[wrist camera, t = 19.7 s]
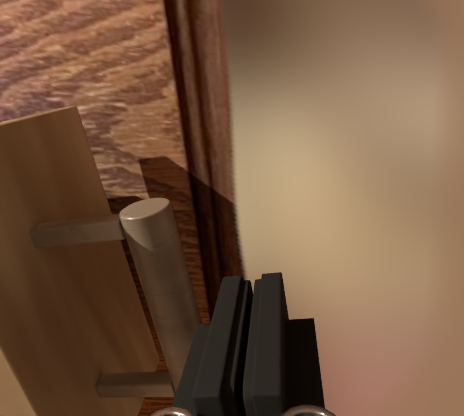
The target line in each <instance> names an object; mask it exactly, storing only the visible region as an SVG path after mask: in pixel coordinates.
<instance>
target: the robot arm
mask: <svg viewBox="0 0 464 416" xmlns="http://www.w3.org/2000/svg"><path fill="white" fill-rule="evenodd" d="M149 416H335V415H334V414H333V413H331V412H329V411H328V410H326V409H325V405H324V398H323V389H322V381H321V373H320V365H319V357H318V349H317V341H316V332H315V324H314V319H313V318H310V319H293V320H289V318H288V311H287V304H286V298H285V291H284V284H283V279H282V273H281V272H280V273H268V274H262V279H258V280H255V285H254V294H253V291H252V286H251V282H250V280H246V281H244V278H243V276H233V277H224V278H223V279H222V282H221V286H220V290H219V294H218V298H217V301H216V305H215V309H214V313H213V316H212V320H211V324H210V325H199V326H198V327H197V329H196V331H195V334H194V337H193V340H192V343H191V347H190V350H189V353H188V356H187V359H186V363H185V366H184V369H183V372H182V375H181V379H180V382H179V385H178V388H177V391H176V395H175V398H174V401H173V404H172V407H167V408H164V409H161V410H158V411H156V412H154V413H152V414H151V415H149Z"/></svg>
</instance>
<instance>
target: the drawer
mask: <svg viewBox="0 0 464 416" xmlns="http://www.w3.org/2000/svg"><path fill="white" fill-rule="evenodd" d="M125 238H126V239H127V242H128V245H129V248H130V252H131V255H132V258H133V261H134V264H135V267H136V270H137V273H138V277H139V280H140V283H141V286H142V289H143V292H144V295H145V298H146V302H147V305H148V308H149V311H150V314H151V317H152V320H153V323H154V327H155V330H156V333H157V336H158V339H159V342H160V345H161V348H162V352H163V355H164V358H165V361H166V364H167V367H168V370H169V371H162V372H155V371H156V368H157V366H158V363H159V361H160V360H159V356H158V353H157V350H156V347H155V344H154V341H153V338H152V335H151V332H150V329H149V326H148V323H147V320H146V317H145V314H144V311H143V308H142V305H141V301H140V298H139V295H138V292H137V289H136V286H135V283H134V280H133V277H132V274H131V271H130V268H129V265H128V262H127V259H126V256H125V253H124V250H123V247H122V243H121V240H124V239H125ZM199 325H202V322H201V318H200V315H199V311H198V307H197V303H196V299H195V295H194V291H193V287H192V283H191V280H190V276H189V272H188V268H187V264H186V260H185V256H184V252H183V248H182V245H181V241H180V237H179V233H178V229H177V225H176V221H175V217H174V213H173V210H172V206H171V202H170V201H169V200H168V199H166V198H150V199H145V200H141V201H138V202H135V203H133V204H131V205H129V206H127V207H125V208H124V209H123V210H121V212H120V214H113V215H112V213H111V210H110V207H109V204H108V201H107V198H106V195H105V192H104V188H103V185H102V182H101V179H100V176H99V173H98V170H97V167H96V164H95V161H94V158H93V155H92V152H91V149H90V146H89V143H88V140H87V137H86V133H85V130H84V127H83V124H82V121H81V118H80V115H79V112H78V109H77V106H71V107H65V108H60V109H54V110H49V111H45V112H41V113H37V114H32V115H28V116H24V117H20V118H16V119H12V120H8V121H4V122H0V416H138V414H139V411H140V409H141V406H142V404H143V401H144V399H145V397H174V396H175V395H176V391H177V388H178V385H179V382H180V379H181V375H182V372H183V369H184V366H185V363H186V359H187V356H188V353H189V350H190V347H191V343H192V340H193V337H194V334H195V331H196V329H197V327H198V326H199Z"/></svg>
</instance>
